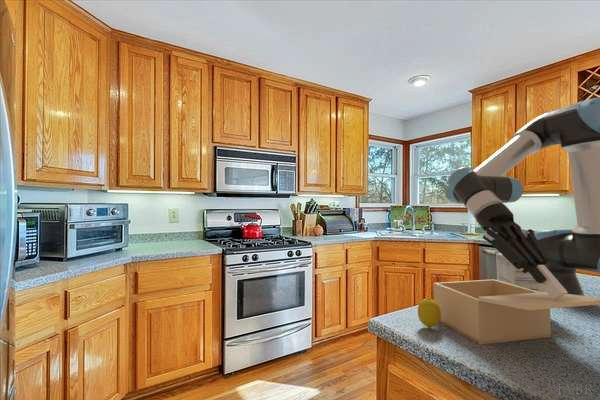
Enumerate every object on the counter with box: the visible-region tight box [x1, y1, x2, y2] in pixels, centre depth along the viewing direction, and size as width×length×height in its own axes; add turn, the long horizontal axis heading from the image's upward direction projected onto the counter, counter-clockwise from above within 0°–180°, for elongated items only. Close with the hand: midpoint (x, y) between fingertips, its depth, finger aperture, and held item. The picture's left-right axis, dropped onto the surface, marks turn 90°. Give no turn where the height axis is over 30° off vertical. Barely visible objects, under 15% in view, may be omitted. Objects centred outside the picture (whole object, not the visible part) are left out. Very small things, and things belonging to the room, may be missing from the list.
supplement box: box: [495, 252, 547, 292], centre depth 88 cm, size 10×9×17 cm
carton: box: [432, 279, 552, 346], centre depth 76 cm, size 20×16×10 cm
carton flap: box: [478, 292, 600, 310], centre depth 62 cm, size 20×1×12 cm
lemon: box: [417, 296, 441, 330], centre depth 75 cm, size 6×6×8 cm
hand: (559, 295), depth 58 cm, fingers closed
